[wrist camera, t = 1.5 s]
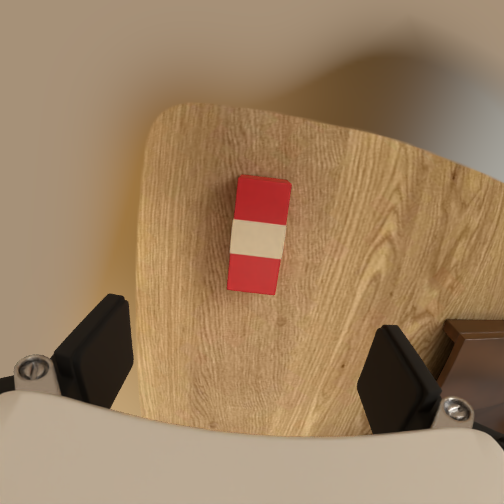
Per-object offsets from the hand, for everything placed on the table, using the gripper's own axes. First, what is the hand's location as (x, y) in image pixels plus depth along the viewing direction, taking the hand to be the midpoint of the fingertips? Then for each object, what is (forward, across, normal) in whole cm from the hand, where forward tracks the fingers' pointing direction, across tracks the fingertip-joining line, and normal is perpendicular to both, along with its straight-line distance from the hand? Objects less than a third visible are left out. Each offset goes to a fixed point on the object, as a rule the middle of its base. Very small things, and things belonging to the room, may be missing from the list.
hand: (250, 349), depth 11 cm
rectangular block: (+14, 0, -1) cm, 14 cm away
